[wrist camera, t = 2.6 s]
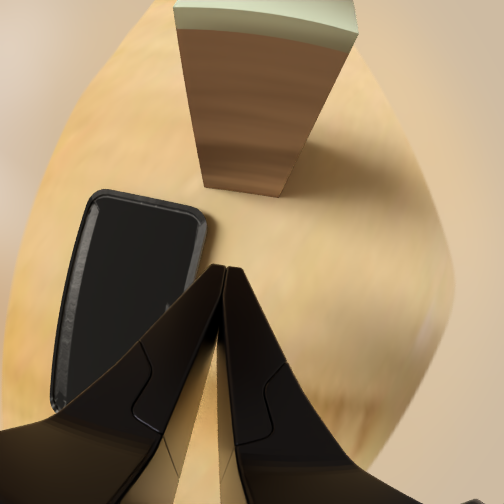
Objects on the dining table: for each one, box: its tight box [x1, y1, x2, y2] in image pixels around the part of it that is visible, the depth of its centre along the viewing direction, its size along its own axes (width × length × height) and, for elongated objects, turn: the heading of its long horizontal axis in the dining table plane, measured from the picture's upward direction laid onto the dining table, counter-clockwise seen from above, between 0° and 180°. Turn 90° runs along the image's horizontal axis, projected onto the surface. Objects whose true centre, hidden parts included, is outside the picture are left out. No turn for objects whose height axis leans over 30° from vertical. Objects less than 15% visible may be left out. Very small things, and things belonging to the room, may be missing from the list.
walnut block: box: [173, 0, 359, 198], centre depth 12 cm, size 4×4×13 cm
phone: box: [50, 189, 208, 413], centre depth 16 cm, size 8×1×15 cm
